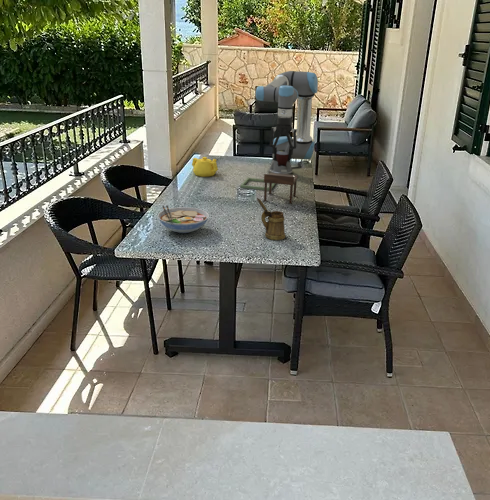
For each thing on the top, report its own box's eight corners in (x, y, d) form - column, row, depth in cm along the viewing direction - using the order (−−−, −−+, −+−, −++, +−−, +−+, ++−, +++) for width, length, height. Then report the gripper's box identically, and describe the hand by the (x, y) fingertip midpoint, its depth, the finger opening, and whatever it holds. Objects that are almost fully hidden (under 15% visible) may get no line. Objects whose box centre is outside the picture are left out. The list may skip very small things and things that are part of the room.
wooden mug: (254, 232, 230) (256, 194, 223) (284, 233, 231) (286, 195, 224) (255, 240, 222) (257, 200, 215) (286, 240, 223) (288, 201, 216)
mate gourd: (272, 165, 272) (274, 137, 266) (282, 163, 278) (283, 135, 272) (283, 167, 268) (284, 139, 262) (292, 165, 273) (294, 137, 267)
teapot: (228, 173, 324) (228, 156, 319) (210, 179, 309) (210, 161, 305) (203, 168, 333) (203, 151, 329) (185, 173, 319) (184, 156, 315)
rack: (268, 193, 289) (270, 167, 283) (296, 196, 286) (298, 170, 280) (263, 201, 274) (264, 174, 268) (292, 204, 271) (293, 177, 266)
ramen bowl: (213, 239, 220) (213, 221, 217) (160, 242, 214) (159, 224, 211) (204, 219, 242) (204, 203, 239) (155, 222, 236) (154, 205, 233)
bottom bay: (247, 180, 312) (247, 177, 312) (276, 182, 309) (276, 180, 309) (240, 187, 296) (240, 185, 295) (270, 190, 293) (270, 188, 292)
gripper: (264, 116, 261) (262, 160, 270) (302, 119, 258) (299, 163, 267) (267, 114, 268) (265, 157, 277) (304, 117, 264) (301, 160, 273)
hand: (282, 160), depth 272 cm, fingers closed on mate gourd, 7 cm apart
